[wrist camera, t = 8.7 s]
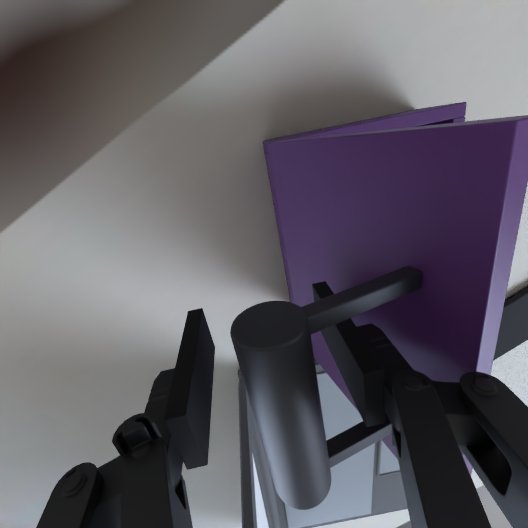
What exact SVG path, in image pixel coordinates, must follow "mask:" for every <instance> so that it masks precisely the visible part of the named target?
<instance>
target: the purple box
mask: <svg viewBox="0 0 528 528" xmlns="http://www.w3.org/2000/svg"><path fill="white" fill-rule="evenodd" d="M465 112H466V102H462V103H455V104H448V105H442V106H435V107H428V108H422V109H415V110H411V111H406V112H401V113H396V114H391V115H386V116H381V117H377V118H372V119H367V120H362V121H357V122H352V123H347V124H343V125H338V126H333V127H328V128H323V129H318V130H313V131H309V132H304V133H299V134H294V135H289V136H284V137H279V138H275V139H270V140H265V141H263V146H264V152H265V157H266V163H267V169H268V175H269V180H270V186H271V192H272V198H273V204H274V209H275V215H276V221H277V227H278V233H279V238H280V244H281V250H282V256H283V261H284V267H285V273H286V279H287V285H288V290H289V296H290V302H291V303H294V298H293V292H292V286H291V280H290V274H289V268H288V262H287V256H286V250H285V244H284V238H283V232H282V226H281V220H280V214H279V208H278V202H277V196H276V190H275V184H274V178H273V172H272V166H271V160H270V154H269V148H268V143H271V142H275V141H282V140H292V139H301V138H311V137H321V136H331V135H340V134H350V133H360V132H370V131H380V130H389V129H399V128H409V127H419V126H428V125H438V124H448V123H458V122H465V117H464V116H465Z"/></svg>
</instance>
